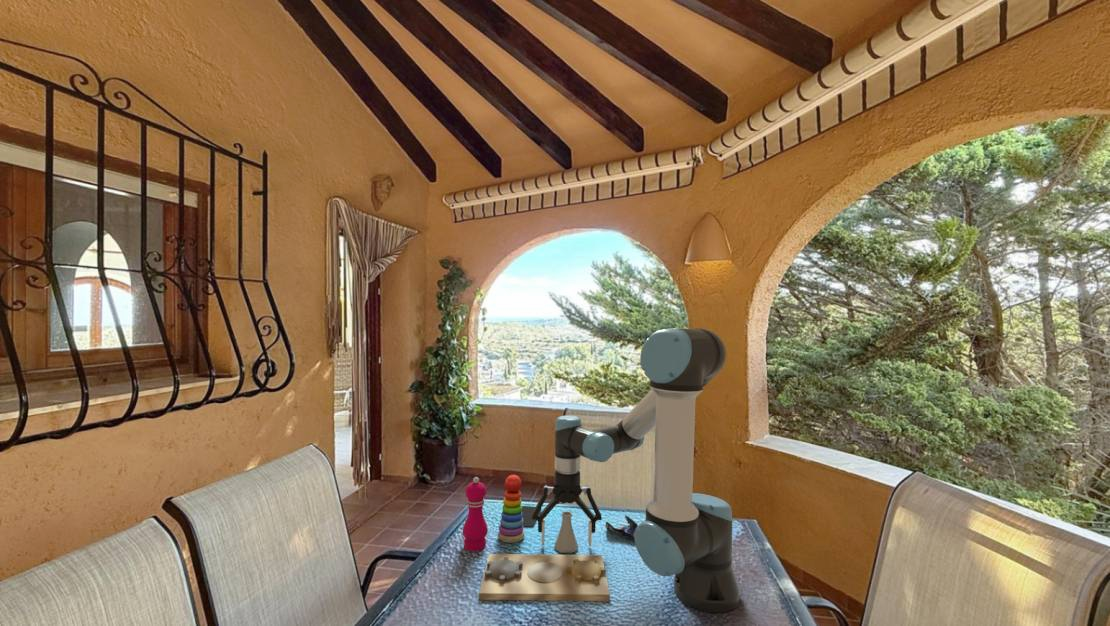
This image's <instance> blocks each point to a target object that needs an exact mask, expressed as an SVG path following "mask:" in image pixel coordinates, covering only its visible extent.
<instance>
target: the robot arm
mask: <svg viewBox="0 0 1110 626" xmlns="http://www.w3.org/2000/svg"><path fill="white" fill-rule="evenodd" d="M639 355H640V357H639V359H640V361H639V362H640V368H641V370H643V371H644V375H645V376H646V377H647V379H648V380H649V388H650V389H651V390H650V391H649V392H648V393H647V394H646V395H645V396H643V398H642V399H641V400H640V401H639V402H638V403H637V404H635V406H634V407H633V408H632V409H631V410H630V411H629V412H628V413H627V414H626V415H625V416H624V418H622V419H621V421H619V422H618V423H617V424H616V425H611V426H606V427H605V426H604V427H602V428H601V427H600V428H596V429H595V428H594V429H589V428H586V427H583V426H582V420H581V418H580V417H579V416H576V415H561V416H558V417H557V418H556V419H555V428H554V469H555V470H554V481H553V482H554V484H553V486H548V484H544V486H543V490H542V491H543V492H542V494H541V495H540V498H539V500H538V501H537V503H536V505H535V506H534V507H535V509H534V511H533V513H532V519H533V520H537V521H536V522H537V533H541V546H545V538H546V537H545V531H546V530H545V529H546V528H545V525H546V521H545V518H546V517H547V516H548V515H549V514H550V512H552V510H553V509H554V508H555V507H556V506H557V505H558V504H559V503H561V504H567V503H568V504H573V503H575V504H577V506H579V508H580V510H582V511H583V513H584V514H585V515H586V517H587V518H588V519H587V520H588V521H587V522H588V523H587V524H588V525H587V527H588V528H587V529H588V530H587V543H588V547H589V546H590V547H592V539H593V537H592V534H595V533H596V523H597V521H602V519H603V517H602V514H601V511H600V510H599V507H598V504H597V503H596V501H595V498H594V496H593V494H592V489H591V486H590V485H589V484H588V485H586V486H583V487H582V486H581V471H580V470H581V458H582V457H583V458H586V459H588V460H590V461H593V462H597V463H598V462H599V463H604V462H607V461H608V460H609V459H611V457H613V455H614V454H618V453H623V452H626V451H627V452H628V451H633V450H635V449H637V448H640V447H641V446H642V445H643V444H644V440H645V436H646V435H648V433H650V432H651V431H652V430H653V429H655V432H654V434H655V435H654V455H653V458H654V459H653V460H654V462H653V464H654V465H653V486H652V487H653V490H652V498H651V499H649V500H648V501H647V502H646V505H645V520H643V521H641V522H640V523H639V524H637V525H638V526H637V528H636V530H635V539H634V544H635V547H636V550H637V553H638V555H639V557H640V558H641V559H642V561H643V564H645V565H646V567H647V568H649V570H650V571H652V572H653V573H654V574H656V575H658V576H661V577H672V576H673V575H674V577H673V578H674V579H673V590H674V594H675V595H676V597H678V599H679V600H680V601H682V602H683V603H684V604H686V605H688V606H690V607H692V608H694V609H696V610H700V611H702V612H708V613H717V614H718V613H727V612H730V611H733V610H734V609H736V608H737V607H738V605H739V603H740V588H739V585H738V583H737V579H736V576H735V575H736V574H735V572H734V569H733V563H732V562H733V561H732V559H733V558H732V557H733V556H732V555H733V554H732V553H733V552H732V551H733V521H734V520H733V514H732V513H733V512H732V507H731V505H730V504H729V503H728V502H727V501H725V500H723V499H722V498H719V497H716V496H713V495H709V494H704V493H695V492H693V487H694V485H693V484H694V458H695V456H694V455H695V452H694V451H695V432H696V431H695V424H696V401H697V399H696V398H697V396H699V395H700V394H701V393H703V391H704V387H706V385H708V384H709V383H710V382H711V381H712V380H713V379H714V378H715V377H717V376H718V374H719V373H720V372H721V371H722V370H723V368H724V366H725V363H726V360H727V349H726V346H725V344H724V341H723V340H722V338H721V337H720V336H719V335H718V334H716V333H715V332H713V331H711V330H710V329H706V328H675V327H673V328H663V329H659V330H656V331H655V332H653V333H652V334H651V335H649V337H647V339H646V340H645V341H644V343H643V345H642V348H641V351H640V354H639ZM551 493H553V495H554V496H553V497H552V499H551V501H550V502H548V504H546V506H545V507H544V508H543V509H542V507H543V506H544V503H545V501H546V500H547V497H548V496H549V495H550V494H551ZM582 493H583V494H584V495H585V496H587V499H588V502H589V503H590V506H591V507H592V510H593V512H594V513H593V512H592V511H591V509H590V508H589V507H588V505H587V504H586V503H585V502H584V501H583V500H582V498H581V497H580V495H581V494H582ZM540 510H541V512H540V514H538V513H539V511H540Z"/></svg>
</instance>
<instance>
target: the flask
mask: <svg viewBox="0 0 1110 626" xmlns="http://www.w3.org/2000/svg"><path fill="white" fill-rule="evenodd" d="M561 516H562V517H561V518H562V520H561V526H560V528H559V531H558V534H557V537H556V539H555V542H554V549H555V550H556V551H557V552H559V554H572V553H574V552H577V551H579V543H578V540H577V538H576V535H575V532H574V529H573V524H572V517H573V513H572V512H571V511H569V510H566V511H565V510H564V511H561Z"/></svg>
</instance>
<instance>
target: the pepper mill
mask: <svg viewBox="0 0 1110 626" xmlns="http://www.w3.org/2000/svg"><path fill="white" fill-rule="evenodd" d="M486 495H487V488H486V486H485V484H484V483H483V482H480V478H479V477H477V476H475V477H473V479H472V482H470V483H469V484H468V485H467V486H466V488H465V496H466V498H467V500H466V502H467V503H466V506H467V507H468V514H467V517H466V520H465V522H464V524H463V527H462V536H463V538H464V541H463V548H464V550H465V551H469V552H478V551H482V550H483V549H485V547H486V546H487V539H486V536H487V535H488V534H489V533H488V532H489V530H488V525H487V521H486V519H485V517H484V513H483V511H484V510H483V506H484V505H485V497H486Z"/></svg>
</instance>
